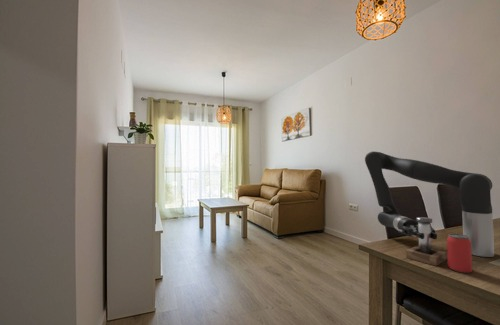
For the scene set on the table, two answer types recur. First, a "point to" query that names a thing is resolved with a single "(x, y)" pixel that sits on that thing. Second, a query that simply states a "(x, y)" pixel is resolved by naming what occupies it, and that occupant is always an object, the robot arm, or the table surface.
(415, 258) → the socket block
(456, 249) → the beer can
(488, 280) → the table surface
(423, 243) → the pin
